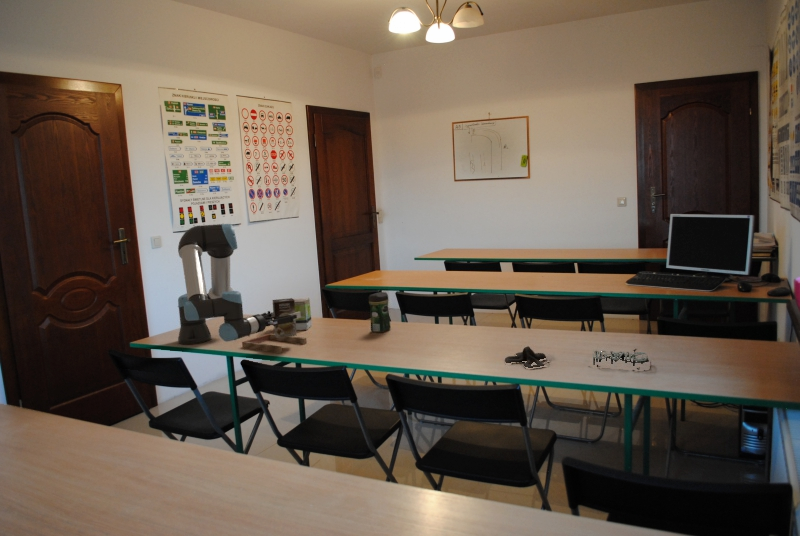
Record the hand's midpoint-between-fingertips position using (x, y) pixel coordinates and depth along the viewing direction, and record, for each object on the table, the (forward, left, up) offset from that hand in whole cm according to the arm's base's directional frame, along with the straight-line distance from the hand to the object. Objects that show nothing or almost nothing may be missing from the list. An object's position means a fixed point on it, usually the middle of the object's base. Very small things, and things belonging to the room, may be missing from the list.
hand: (291, 313), depth 261 cm
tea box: (-23, +25, -15) cm, 37 cm away
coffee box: (0, -4, -9) cm, 10 cm away
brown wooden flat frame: (-7, -4, -14) cm, 17 cm away
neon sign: (+134, +34, -15) cm, 139 cm away
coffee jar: (+22, +37, -15) cm, 45 cm away
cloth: (+105, +19, -15) cm, 108 cm away
